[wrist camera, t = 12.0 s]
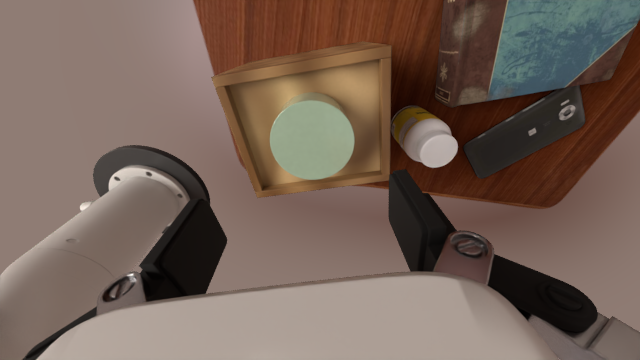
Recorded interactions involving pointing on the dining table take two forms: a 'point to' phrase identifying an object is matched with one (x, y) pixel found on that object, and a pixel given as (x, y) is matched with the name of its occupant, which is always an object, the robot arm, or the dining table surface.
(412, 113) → the supplement bottle
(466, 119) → the dining table surface
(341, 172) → the open wooden box
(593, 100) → the dining table surface
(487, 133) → the smartphone
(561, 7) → the book
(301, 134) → the disc
